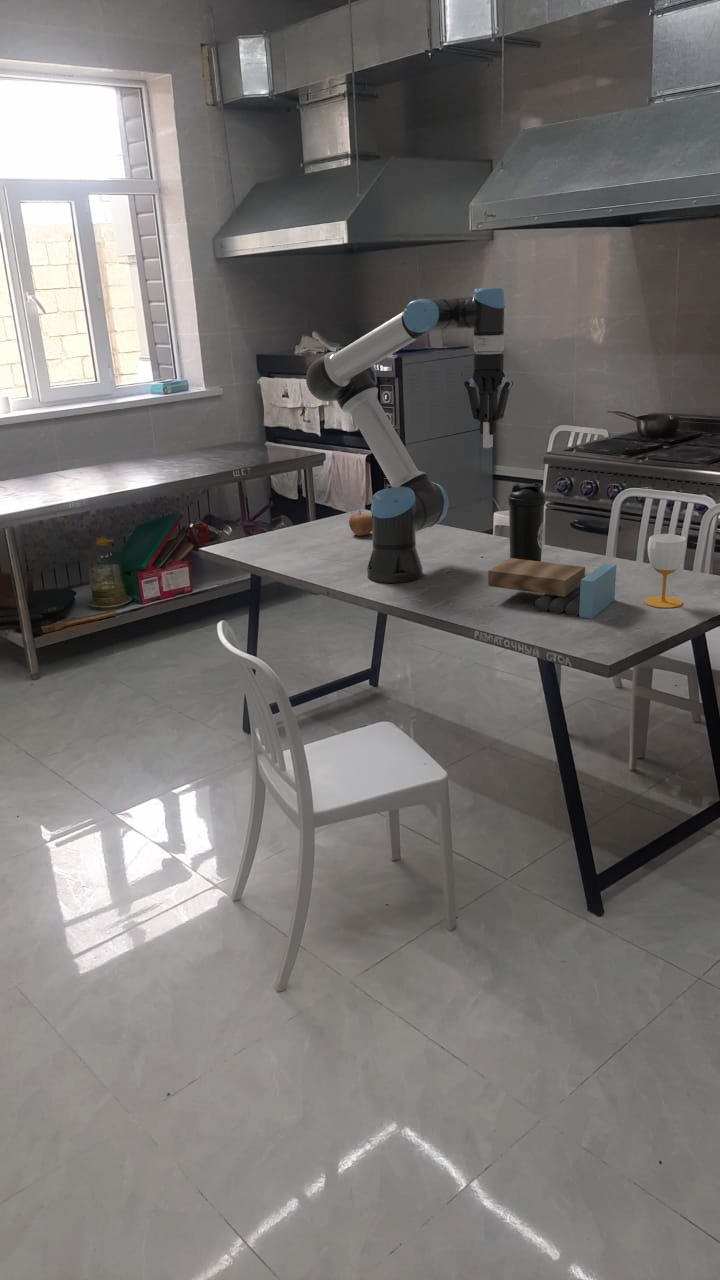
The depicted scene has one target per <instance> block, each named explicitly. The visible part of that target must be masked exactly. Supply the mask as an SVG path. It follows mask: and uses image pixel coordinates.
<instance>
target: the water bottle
mask: <svg viewBox="0 0 720 1280" xmlns="http://www.w3.org/2000/svg"><path fill="white" fill-rule="evenodd" d="M542 485H543V484H542V483H540V482H536V483H535V482H533V483H528V484H524V485H523V484H522V485H521V484H520V483H518V482H515V483H513V485H512V490H511V491H510V493H509V495H508V496H507V504H508V505H509V506H508V511H509V513H508V514H509V515H508V517H509V518H508V519H509V559H510V558H514V559H523V560H531V561H539V562H542V553H543V551H542V549H543V537H544V536H543V534H544V521H545V520H544V516H545V515H544V514H545V506H546V503H547V496H546V495H545V493H544V491H543V490H542V489H541V488H542Z"/></svg>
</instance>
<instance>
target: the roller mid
mask: <svg viewBox="0 0 720 1280" xmlns="http://www.w3.org/2000/svg"><path fill="white" fill-rule="evenodd" d="M579 595H580V586H579V587H578V588H576V589H575V590H573V591H572V592H571V593H569V594H568V595H566V596H565V597H563V596H558V597H557V598H556V599H554V600H553V601H551V602H550V604H549V612H551V613H552V614H557V615H559V614H561V613H562V612H564V611H565V606H566V605H567V604H568V603H569V602H570V601H572V600H573V599H575V598H576V597H577V596H579Z"/></svg>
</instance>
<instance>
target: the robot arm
mask: <svg viewBox="0 0 720 1280" xmlns="http://www.w3.org/2000/svg"><path fill="white" fill-rule="evenodd" d="M505 308H506V306H505V292H504V289H502V288H501V287H481V288H475V289H474V291H473V295H472V296H469V297H468V296H467V297H465V296H463V297H461V296H460V297H459V296H458V297H457V296H456V297H449V296H447V297H441V298H440V297H438V298H418V299H415V300H412V301H410V302H409V303H408V304H407V305H406V307H405V308H404V310H403V311H402V312H401V313H398V314H397V315H396V316H395V315H394V317H392V318H391V319H389V320H387V321H385V322H384V323H382V324H381V325H379V326H378V327H376V328H374V329H373V330H371V331H370V332H367V333H366V334H365V335H363V336H361V337H359V338H358V339H356V340H354V341H353V342H352V343H350V344H348V345H347V346H345V347H343V348H341V349H340V350H338V351H337V352H335V351H330V352H328V353H326V354H324V355H323V356H321V357H319V358H317V359H316V360H314V361H313V362H312V363H311V364H310V365H309V367H308V369H307V372H306V375H305V381H306V383H305V384H306V386H307V388H308V391H309V392H310V394H311V395H313V397H314V398H316V399H317V400H319V401H322V402H335V401H336V402H337V404H338V406H339V407H340V409H341V411H342V412H344V413H347V414H350V416H351V417H352V419H353V422H354V423H355V424H356V426H357V428H358V429H359V431H360V434H361V435H362V437H363V439H364V441H365V442H366V443H367V446H368V447H369V449H370V450H371V453H372V454H373V456H374V458H375V460H376V461H377V463H378V465H379V466H380V468H381V470H382V472H383V473H384V475H385V477H386V479H387V481H388V482H389V484H390V486H391V487H390V488H388V487H387V488H383V489H381V490H379V491H376V492H375V493H374V494H373V495H372V498H371V506H370V512H371V516H372V531H371V533H372V551H371V554H370V558H369V562H368V566H367V569H366V570H367V571H366V572H367V578H368V579H369V580H372V581H374V582H378V583H386V584H399V583H407V582H409V583H410V582H412V581H416V580H418V579H420V578H422V576H423V573H424V572H423V565H422V563H421V560H420V556H419V554H418V551H417V545H416V532H419V531H422V530H424V529H427V528H432V527H433V526H435V525H437V524H438V523H440V522H441V521H443V519H444V518H445V517H446V515H447V512H448V510H449V509H448V508H449V497H448V494H447V492H446V490H445V488H444V487H443V485H440V484H438V483H436V482H433V481H431V479H430V477H429V476H428V474H427V473H426V472H425V471H421V470H418V468H417V466H416V464H415V463H414V460H413V459H412V457H411V456H410V454H409V452H408V450H407V449H406V447H405V445H404V443H403V442H402V440H401V438H400V436H399V434H398V433H397V431H396V429H395V427H394V426H393V424H392V422H391V420H390V419H389V417H388V415H387V414H386V412H385V410H384V408H383V406H382V405H381V403H380V400H378V397H377V396H378V393H379V392H378V391H379V388H378V387H377V379H376V378H377V377H378V375H377V372H376V369H375V367H374V365H376V364H377V363H379V362H381V361H382V360H384V359H386V358H388V357H390V356H392V355H393V354H394V353H397V352H398V351H400V350H402V349H403V348H405V347H406V346H408V345H410V344H411V343H414V342H415V341H416V340H418V339H421V338H422V337H423V336H426V335H427V334H429V333H431V332H435V331H436V332H437V331H443V330H444V331H445V330H452V329H453V330H454V329H455V330H457V329H473V351H474V352H475V354H474V355H473V369H474V370H473V372H472V373H473V374H472V377H471V378H470V379H468V380H466V381H464V383H463V385H464V386H465V388H466V390H467V393H468V399H469V403H470V404H469V405H470V409H471V413H472V418H473V419H474V420H477V421H479V431H480V435H482V448H483V449H491V448H493V447H494V435H496V433H497V422H498V421H499V420H501V419H503V418H504V417H505V411H506V407H507V403H508V399H509V394H510V391H511V388H512V387H513V385H514V381H512V380H509V379H507V378H506V377H505V376H506V375H505V373H504V361H505V359H504V358H505V357H504V356H505V355H504V354H503V353H502V352H503V351H504V350H505V343H504V342H505V337H504V336H505V334H504V333H505V332H504V331H505V329H504V326H505ZM476 386H477V388H478V392H477V388H476ZM500 386H501V387H502V388H501V389H500V393H499V387H500ZM498 393H499V397H498ZM478 395H479V397H478Z"/></svg>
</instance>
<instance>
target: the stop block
mask: <svg viewBox="0 0 720 1280" xmlns="http://www.w3.org/2000/svg"><path fill="white" fill-rule="evenodd" d="M616 577H617V564H615V563H607V562H606V563H605V562H604V563H602V564H601V565H599V566H598V567H597V568H596V569H594V570H593V571H591V572H590V573H588V574H587V575H585V577H584V578H583V579H581V584H580V608H579V614H578V617H580V618H586V619H593V618H595V616H597V614H599V613H600V612H602V611H603V610H604V609H605V608H606V607H607V606H609V605H610V604H611V603H612V602H614V601H615V599H616V598H615V597H616V581H617V580H616Z"/></svg>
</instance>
